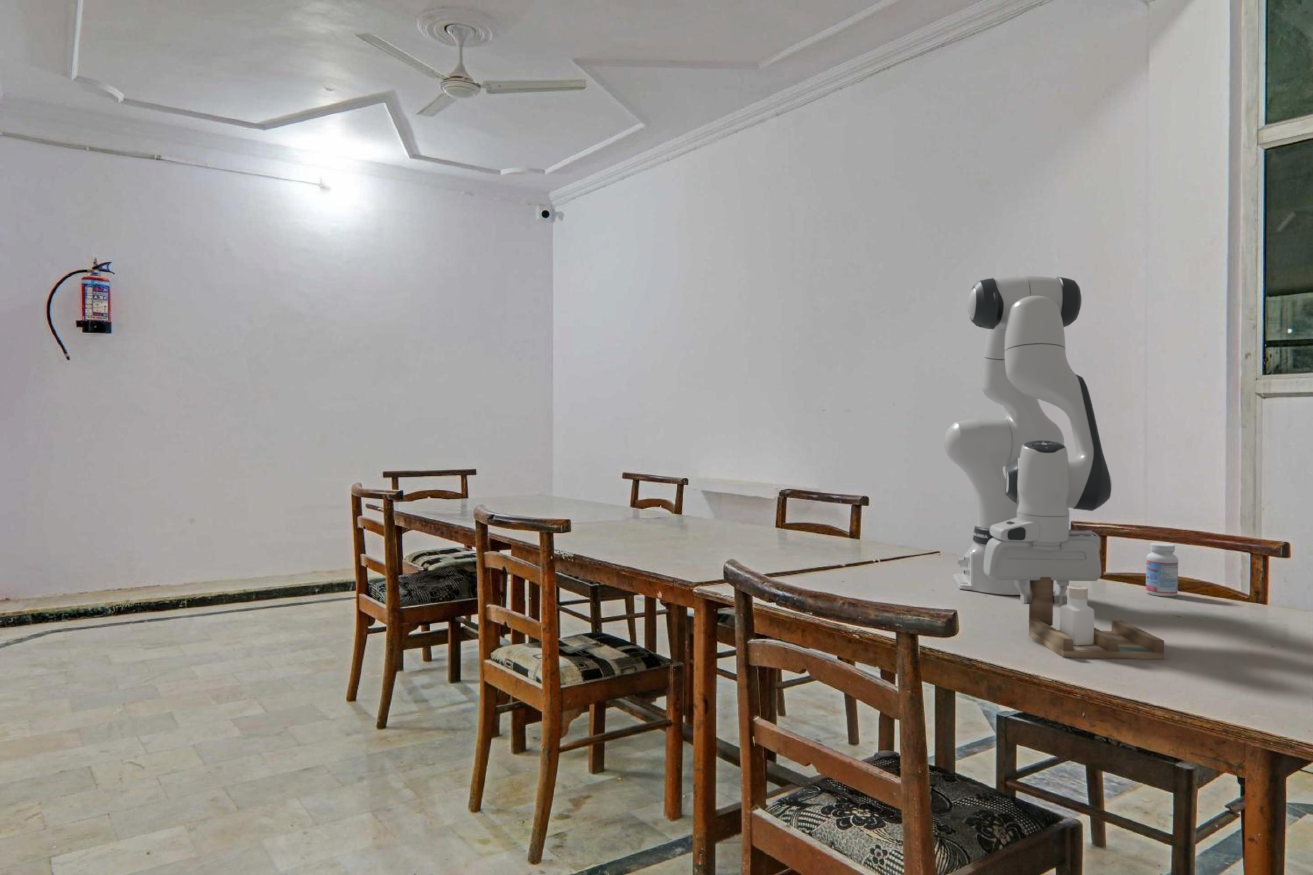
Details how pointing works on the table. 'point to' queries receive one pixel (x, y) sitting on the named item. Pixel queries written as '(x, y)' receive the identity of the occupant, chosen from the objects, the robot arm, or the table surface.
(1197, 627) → the table surface
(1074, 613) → the pepper shaker
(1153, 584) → the pill bottle
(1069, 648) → the rack
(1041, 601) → the dowel
